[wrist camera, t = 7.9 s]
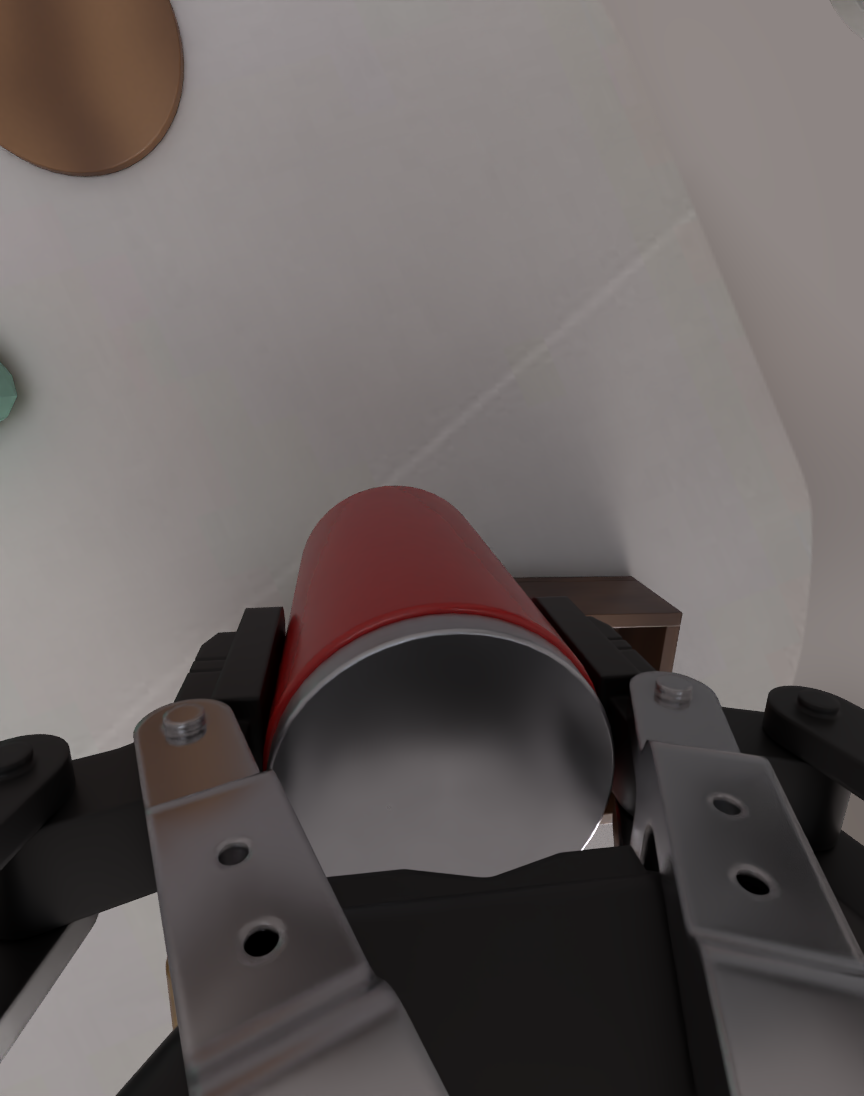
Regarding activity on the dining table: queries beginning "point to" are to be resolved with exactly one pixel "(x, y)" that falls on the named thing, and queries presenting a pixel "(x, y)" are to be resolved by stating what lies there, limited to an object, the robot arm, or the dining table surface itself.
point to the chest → (619, 618)
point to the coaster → (87, 81)
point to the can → (429, 701)
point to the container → (6, 392)
